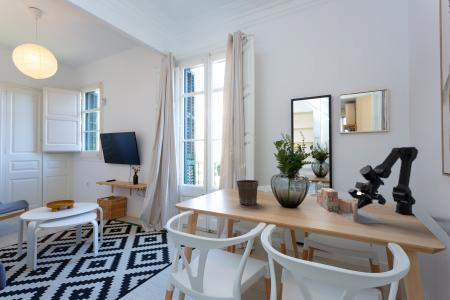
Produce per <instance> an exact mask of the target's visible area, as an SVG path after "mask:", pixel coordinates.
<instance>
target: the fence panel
mask: <svg viewBox="0 0 450 300" xmlns="http://www.w3.org/2000/svg"><path fill="white" fill-rule="evenodd" d="M358 210H359V209H358V204H357V199H352V214H353V221H358ZM353 221H352V222H353Z"/></svg>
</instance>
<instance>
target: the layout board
mask: <svg viewBox="0 0 450 300" xmlns="http://www.w3.org/2000/svg"><path fill="white" fill-rule="evenodd" d="M337 212H339V213H340V214H342V215H343V216H344V217H346V218H348V219H349V220H350V221H352V222H353V223H356V224H357V223H358V224H387V223H386V222H385V221H383V220H381V219H379V218H377V217H375V216H373V215H371V214H370V213H368V212H366V211H364V210H362V209H358V221H353V214H352V213H347V212H344V211H341V210H338V211H337Z"/></svg>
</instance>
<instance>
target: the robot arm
mask: <svg viewBox="0 0 450 300" xmlns="http://www.w3.org/2000/svg"><path fill="white" fill-rule="evenodd" d="M418 154H419V149H417V147H415V146H402V147H392V148H391V151H390V153H389V154H388V155H387V156H386V158H385V159H384V160H383V162H382V163H380V164H378V165H376V166H375V167H374V168H373V167H372V165H369V164H367V165H366V166H364V167H362V168H360V169H359V173H360V174H359V175H361V176H362V177H363V179H364V180H366V181H367V182H360V181H356V183H355V186H354V188H356V189H354V188H349V189H348V190H347V193H348V194H349V196H351V198H353V199H355V200H357V201H356V203H357V204H358V210H361V209H362V208H364V207H366V206H369V205H373V204H374V201H377V203H378V204H379V205H381V206H385V205H386V203H387V200H386V199H385V197H384V196H383V194H380V193H379V191H378V190H379V188H380V187H381V186H385V182H384V180H382V179H388V178H389V177H390V176H391V174H392V168H393V166H394V165H396V163H397V162H398V160H399V159H400V168H399V174H398V182H397V185H396V186H393V187H392V191H391V195H392V198H393V199H392V200H393V202H394V203H396V205H395V211H394V212H395V213H398V214H399V215H403V216H405V215H406V216H407V215H408V216H415V213H413V206H414V205H415V204H416V199H415V198H414V197H413V195H412V194H413V193H412V190H411V188H410V180H411V172H412V165H413V162H414V161H416V159H417V157H418ZM357 189H359V190H357Z"/></svg>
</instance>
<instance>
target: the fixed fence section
mask: <svg viewBox="0 0 450 300" xmlns="http://www.w3.org/2000/svg"><path fill="white" fill-rule="evenodd" d="M352 205H353V201H352V202H351V201H347V200H343V199H342V198H338V210H341V211H344V212H347V213H352Z"/></svg>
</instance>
